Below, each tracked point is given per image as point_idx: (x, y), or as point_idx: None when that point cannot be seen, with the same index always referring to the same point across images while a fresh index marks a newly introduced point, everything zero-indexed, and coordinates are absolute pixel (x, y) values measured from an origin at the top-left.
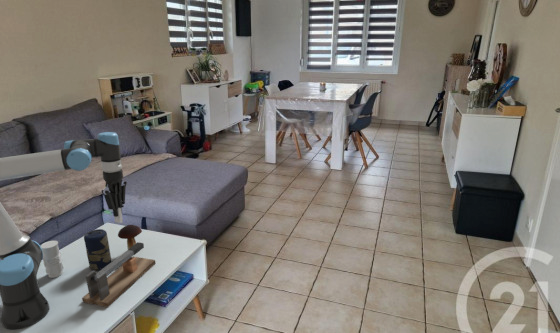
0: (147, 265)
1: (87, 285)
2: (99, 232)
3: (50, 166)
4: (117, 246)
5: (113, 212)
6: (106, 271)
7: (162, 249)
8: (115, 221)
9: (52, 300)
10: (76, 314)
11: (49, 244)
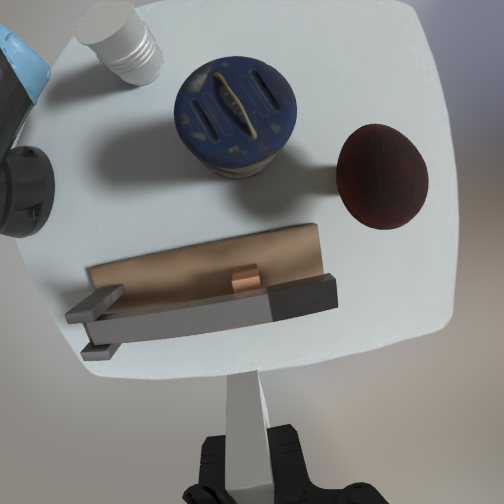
0: None
1: (81, 302)
2: (248, 125)
3: None
4: (351, 100)
5: (200, 473)
6: (121, 342)
7: (395, 260)
8: (228, 385)
9: (66, 186)
10: (70, 291)
11: (102, 19)
